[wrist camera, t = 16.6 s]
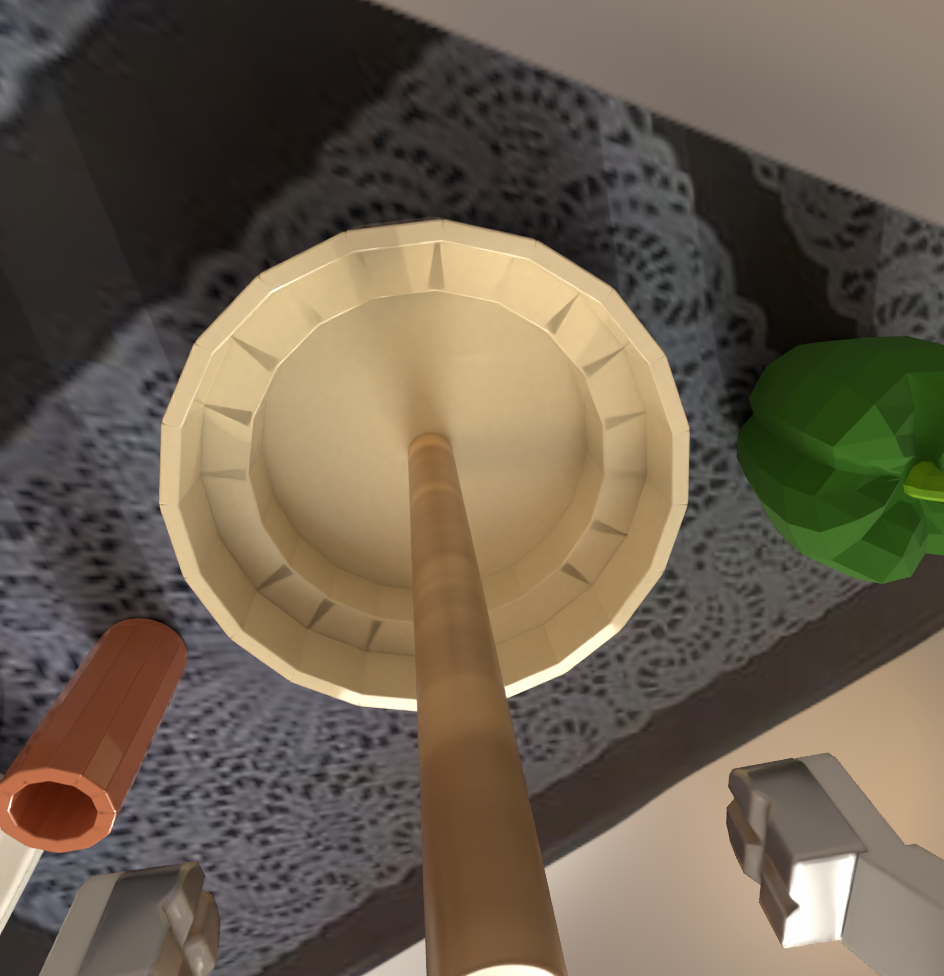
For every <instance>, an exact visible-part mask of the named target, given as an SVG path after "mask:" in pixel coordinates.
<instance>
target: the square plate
mask: <svg viewBox="0 0 944 976" xmlns="http://www.w3.org/2000/svg"><path fill="white" fill-rule="evenodd" d="M3 776H4V774H1V773H0V780H1V779H2V777H3ZM43 851H44V850H40V849H34V848H29V847H28V846H25V845H23V844H22V843H20V842H18V841H17V840H15V839H14V838H12V837H10V836H9V835H7V834H5V833H4V832H3V831H2V830H1V829H0V934H1V932H2V930H3V928H4V926H5V924H6V922H7V921H8V919H9V917H10V915H11V913H12V911H13V909H14V907H15V905H16V903H17V902H18V900H19V898H20V896H21V894H22V892H23V890H24V888H25V886H26V884H27V883H28V881H29V879H30V877H31V875H32V873H33V871H34V869H35V867H36V865H37V863H38V861H39V859H40V857H41V855H42V853H43Z"/></svg>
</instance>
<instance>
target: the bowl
mask: <svg viewBox="0 0 944 976" xmlns="http://www.w3.org/2000/svg"><path fill="white" fill-rule="evenodd" d="M689 429H690V427H689V424H688V421H687V418H686V415H685V412H684V409H683V406H682V403H681V400H680V397H679V393H678V390H677V387H676V384H675V381H674V378H673V375H672V372H671V369H670V366H669V363H668V360H667V357H666V355H665V353H664V351H663V350H662V349H661V347H660V346H659V345H658V344H657V342H656V341H655V340H654V339H653V337H652V336H651V335H650V333H649V332H648V331H647V330H646V328H645V327H644V326H643V324H642V323H641V322H640V321H639V319H638V318H637V317H636V316H635V314H634V313H633V312H632V310H631V309H630V308H629V307H628V305H627V304H626V303H625V301H624V300H623V299H622V298H621V296H620V295H619V294H618V293H617V291H616V290H615V289H614V288H612V286H610V285H609V284H607V283H606V282H604V281H602V280H601V279H599V278H598V277H596V276H594V275H593V274H591V273H590V272H588V271H586V270H585V269H583V268H582V267H580V266H578V265H577V264H575V263H574V262H572V261H570V260H569V259H567V258H566V257H564V256H562V255H561V254H559V253H558V252H556V251H554V250H553V249H551V248H550V247H548V246H546V245H545V244H543V243H542V242H540V241H538V240H535V239H533V238H529V237H525V236H521V235H517V234H513V233H509V232H505V231H500V230H495V229H491V228H486V227H482V226H477V225H473V224H468V223H464V222H459V221H455V220H450V219H445V218H441V217H436V216H429V217H421V218H413V219H405V220H397V221H389V222H380V223H372V224H364V225H357V226H355V227H352V228H350V229H348V230H345V231H343V232H341V233H339V234H337V235H335V236H333V237H331V238H329V239H327V240H325V241H323V242H321V243H319V244H317V245H315V246H313V247H311V248H309V249H307V250H305V251H303V252H301V253H299V254H297V255H295V256H293V257H291V258H289V259H287V260H285V261H283V262H281V263H279V264H277V265H275V266H273V267H271V268H269V269H267V270H265V271H263V272H261V273H260V274H259V275H257V276H256V277H255V278H254V279H253V280H252V281H251V282H250V283H249V284H248V285H247V286H246V288H245V289H244V290H243V291H242V292H241V293H240V294H239V295H238V296H237V297H236V298H235V299H234V300H233V301H232V302H231V303H230V305H229V306H228V307H227V308H226V309H225V310H224V311H223V312H222V313H221V314H220V315H219V316H218V317H217V318H216V319H215V320H214V322H213V323H212V324H211V325H210V326H209V327H208V328H207V329H206V330H205V331H204V332H203V333H202V334H201V335H200V336H199V337H198V339H197V340H196V342H195V343H194V344H193V347H192V349H191V351H190V354H189V356H188V359H187V361H186V363H185V366H184V368H183V371H182V373H181V376H180V378H179V380H178V383H177V385H176V388H175V390H174V392H173V395H172V397H171V400H170V402H169V404H168V407H167V409H166V412H165V414H164V416H163V419H162V424H161V447H160V482H159V503H160V509H161V512H162V515H163V518H164V521H165V524H166V527H167V530H168V533H169V536H170V539H171V542H172V545H173V547H174V550H175V553H176V556H177V559H178V562H179V565H180V568H181V571H182V574H183V577H185V580H186V582H187V583H188V584H189V586H190V587H191V588H192V590H193V591H194V592H195V594H196V595H197V596H198V597H199V599H200V600H201V601H202V603H203V604H204V605H205V607H206V608H207V609H208V611H209V612H210V613H211V615H212V616H213V617H214V618H215V620H216V621H217V622H218V624H219V625H220V626H221V628H222V629H223V630H224V632H225V633H226V634H227V635H228V637H230V638H231V640H233V641H234V642H236V643H237V644H238V645H240V646H241V647H243V648H244V649H245V650H247V651H248V652H250V653H251V654H252V655H254V656H255V657H257V658H258V659H259V660H261V661H262V662H264V663H265V664H266V665H268V666H269V667H271V668H272V669H273V670H275V671H276V672H278V673H279V674H281V675H282V676H283V677H285V678H286V679H288V680H290V681H291V682H293V683H296V684H299V685H301V686H304V687H307V688H310V689H313V690H315V691H318V692H321V693H324V694H327V695H329V696H332V697H335V698H338V699H340V700H343V701H346V702H349V703H352V704H354V705H359V706H365V707H376V708H388V709H399V710H410V711H417V694H416V666H415V638H414V610H413V583H412V555H411V527H410V500H409V472H408V449H409V446H410V444H411V443H412V441H413V440H414V439H415V438H416V437H418V436H420V435H422V434H425V433H437V434H440V435H442V436H443V437H445V438H446V439H447V440H448V441H449V443H450V444H451V446H452V450H453V454H454V459H455V464H456V468H457V473H458V477H459V482H460V486H461V491H462V496H463V500H464V505H465V509H466V514H467V518H468V523H469V527H470V532H471V537H472V541H473V546H474V550H475V555H476V559H477V564H478V568H479V573H480V578H481V582H482V587H483V591H484V596H485V600H486V605H487V610H488V614H489V619H490V623H491V628H492V632H493V637H494V641H495V646H496V651H497V655H498V660H499V664H500V669H501V673H502V678H503V683H504V687H505V692H506V696H507V698H509V697H511V696H513V695H516V694H518V693H520V692H523V691H525V690H527V689H530V688H532V687H534V686H537V685H539V684H541V683H544V682H546V681H548V680H551V679H553V678H555V677H557V676H560V675H562V674H564V673H565V672H568V671H569V670H570V669H571V668H573V667H574V666H575V665H577V664H578V663H579V662H580V661H582V660H583V659H584V658H586V657H587V656H588V655H589V654H591V653H592V652H593V651H595V650H596V649H597V648H598V647H600V646H601V645H602V644H604V643H605V642H606V641H607V640H609V639H610V638H611V637H613V636H614V635H615V634H616V633H618V632H619V631H620V630H621V629H622V628H623V626H624V625H625V624H626V622H627V621H628V620H629V618H630V617H631V616H632V614H633V613H634V612H635V610H636V609H637V608H638V606H639V605H640V603H641V602H642V601H643V599H644V598H645V597H646V595H647V594H648V593H649V591H650V590H651V589H652V587H653V586H654V585H655V583H656V582H657V581H658V579H659V578H660V576H661V575H662V574H663V571H664V570H665V567H666V564H667V561H668V559H669V556H670V553H671V550H672V547H673V545H674V542H675V539H676V536H677V533H678V531H679V528H680V525H681V522H682V519H683V517H684V514H685V511H686V508H687V503H688V482H689V441H690V430H689Z"/></svg>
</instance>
